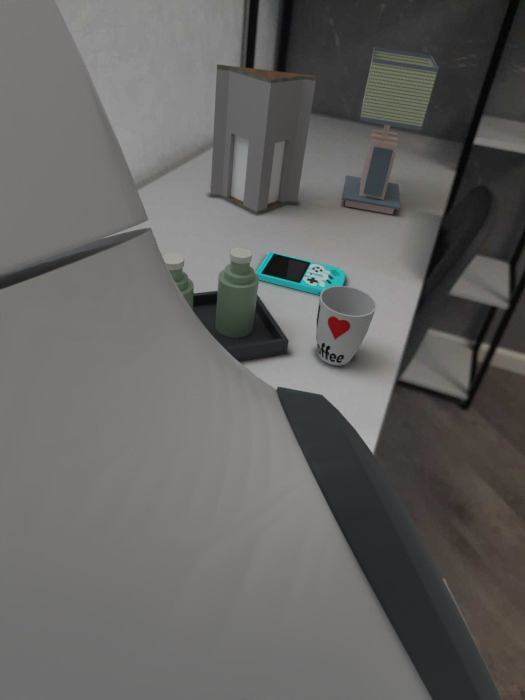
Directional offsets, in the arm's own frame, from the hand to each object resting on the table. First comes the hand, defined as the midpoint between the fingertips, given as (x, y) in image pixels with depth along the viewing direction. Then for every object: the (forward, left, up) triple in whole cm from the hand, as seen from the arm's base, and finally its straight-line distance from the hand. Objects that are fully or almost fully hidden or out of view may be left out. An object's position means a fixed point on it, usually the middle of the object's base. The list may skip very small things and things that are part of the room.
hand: (224, 541), depth 42 cm
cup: (+29, +31, -11) cm, 44 cm away
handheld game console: (+34, +54, -11) cm, 65 cm away
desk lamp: (+69, +87, -11) cm, 111 cm away
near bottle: (+6, +41, -10) cm, 42 cm away
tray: (+6, +41, -10) cm, 43 cm away
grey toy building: (+37, +87, -11) cm, 95 cm away
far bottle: (+16, +41, -10) cm, 45 cm away
